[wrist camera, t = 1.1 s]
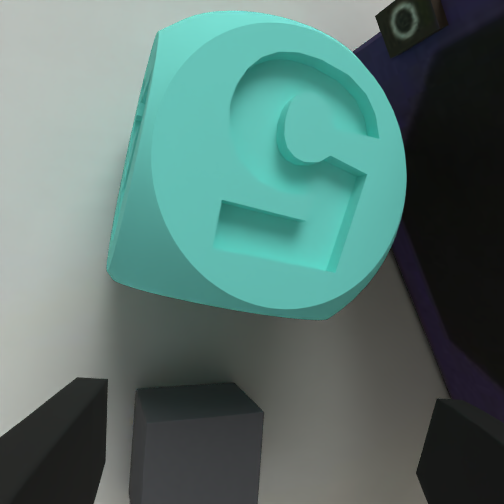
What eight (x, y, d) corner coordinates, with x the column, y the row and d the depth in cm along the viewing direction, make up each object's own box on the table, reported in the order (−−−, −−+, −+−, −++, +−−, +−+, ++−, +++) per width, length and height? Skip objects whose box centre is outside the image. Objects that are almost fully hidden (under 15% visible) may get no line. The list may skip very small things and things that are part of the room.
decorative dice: (103, 269, 16) (109, 293, 9) (141, 83, 17) (177, -43, 9) (274, 297, 19) (387, 333, 12) (304, 138, 20) (431, 77, 12)
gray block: (227, 477, 19) (256, 526, 15) (128, 492, 17) (137, 552, 14) (234, 382, 19) (264, 412, 15) (135, 388, 17) (146, 423, 14)
